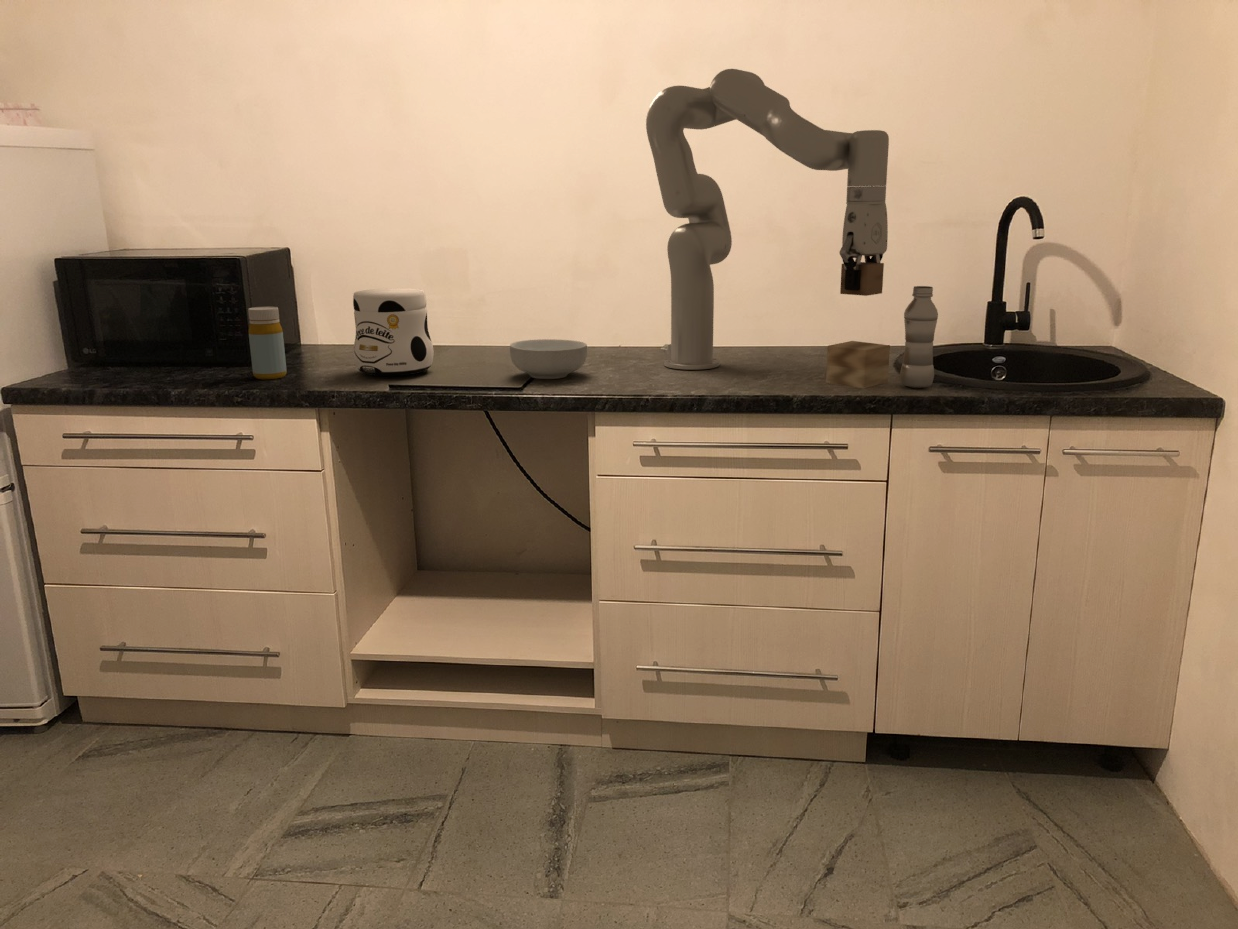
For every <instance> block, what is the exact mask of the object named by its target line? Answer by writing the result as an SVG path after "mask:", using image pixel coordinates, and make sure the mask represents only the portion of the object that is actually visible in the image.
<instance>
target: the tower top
mask: <svg viewBox="0 0 1238 929" xmlns="http://www.w3.org/2000/svg"><path fill="white" fill-rule="evenodd" d="M890 351H891V345H890V344H884V343H873V342H866V341H865V342H863V341H857V340H851V341H850V340H849V341H844V342H840V343H835V344H829V345H827V357H826V366H827V365H831V366H838V367H845V368H852V369H859V370H868V369H872V368H877V367H881V366H885V365H890V354H891V353H890Z"/></svg>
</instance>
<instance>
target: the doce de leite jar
mask: <svg viewBox="0 0 1238 929" xmlns="http://www.w3.org/2000/svg"><path fill="white" fill-rule="evenodd" d="M352 296H353V298H352V303H353V304H352V305H353V310H354V312H353V314H354V323H355V324H354V325H355V337H354V338H355V339H354V342H353V343H354V344H353V349H352V350H353V351H352V354H353V360H354V365H355V367H356V369H357V370H359V371H360V372H361V373H363V374H366V375H371V376H378V377H398V376H399V377H400V376H408V375H414V374H415V375H416V374H419V373H421V372H424V371H427V370H428V369H429V368H431V366H432V364H433V362H434V353H435V352H434V346H433V342H432V338H431V336H430V332H429V327H428V326H429V325H428V309H427V298H426V293H425V290H424V289H420V288H419V289H418V288H403V287H402V288H398V287H397V288H375V289H366V290H358V291H355V292H353V295H352Z"/></svg>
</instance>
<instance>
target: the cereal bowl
mask: <svg viewBox="0 0 1238 929" xmlns="http://www.w3.org/2000/svg"><path fill="white" fill-rule="evenodd" d="M587 355H588V344H587V343H586V342H584V341H580V340H572V339H571V340H570V339H549V338H547V339H528V340H519V341H515V342H512V343H510V345H509V356H510V359H511V362H512V363H513V365H514V366H515V367H516V368H517V369H518V370H520V371H521V372H523V373H525V374H528V375H529V376H530V377H531V378H533V379H539V380H555V379H562V378H566V377H567V376H568V375H569V374H572V373H574V372H575V371H578V370H579V369H581V367H583V365H584V364H585V362H586V360H587Z"/></svg>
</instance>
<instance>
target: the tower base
mask: <svg viewBox="0 0 1238 929" xmlns="http://www.w3.org/2000/svg"><path fill="white" fill-rule="evenodd" d="M889 365H890V364H889ZM889 365H885V366H881V367H877V368H872V369H868V370H859V369H852V368H845V367H838V366H831V365H827V364H826V374H825V375H826V377H825V380H826V381H825V383H828V384H832V385H838V386H839V385H840V386H846V387H853V388H860V389H866V388H869V387H870V388H871V387H875V386H877V385H878V384H879V385H882V384H885V383H888V380H889V367H890V366H889Z"/></svg>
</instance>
